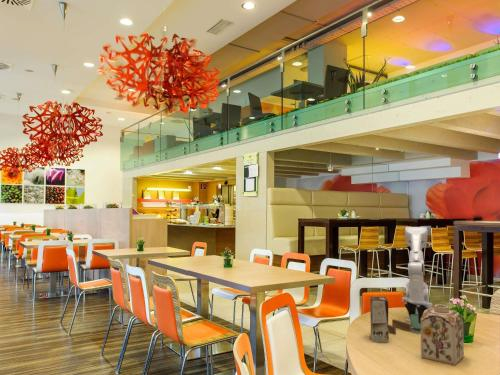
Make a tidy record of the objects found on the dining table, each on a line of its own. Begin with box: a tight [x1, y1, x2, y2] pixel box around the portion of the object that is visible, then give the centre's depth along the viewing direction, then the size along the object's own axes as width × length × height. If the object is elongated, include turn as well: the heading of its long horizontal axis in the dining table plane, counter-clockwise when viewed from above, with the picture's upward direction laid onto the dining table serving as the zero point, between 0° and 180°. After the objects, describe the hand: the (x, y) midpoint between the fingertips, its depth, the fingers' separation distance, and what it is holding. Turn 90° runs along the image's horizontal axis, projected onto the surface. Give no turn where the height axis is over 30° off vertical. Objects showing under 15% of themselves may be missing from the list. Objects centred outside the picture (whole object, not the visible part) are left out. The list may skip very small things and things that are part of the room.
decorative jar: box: [420, 304, 465, 366], centre depth 151 cm, size 12×12×18 cm
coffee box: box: [369, 296, 390, 344], centre depth 172 cm, size 9×6×16 cm
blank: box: [410, 314, 421, 329], centre depth 184 cm, size 4×5×5 cm
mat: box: [409, 327, 421, 335], centre depth 184 cm, size 7×7×1 cm
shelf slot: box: [388, 318, 411, 335], centre depth 184 cm, size 10×9×3 cm
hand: (417, 321), depth 184 cm, fingers closed on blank, 4 cm apart
